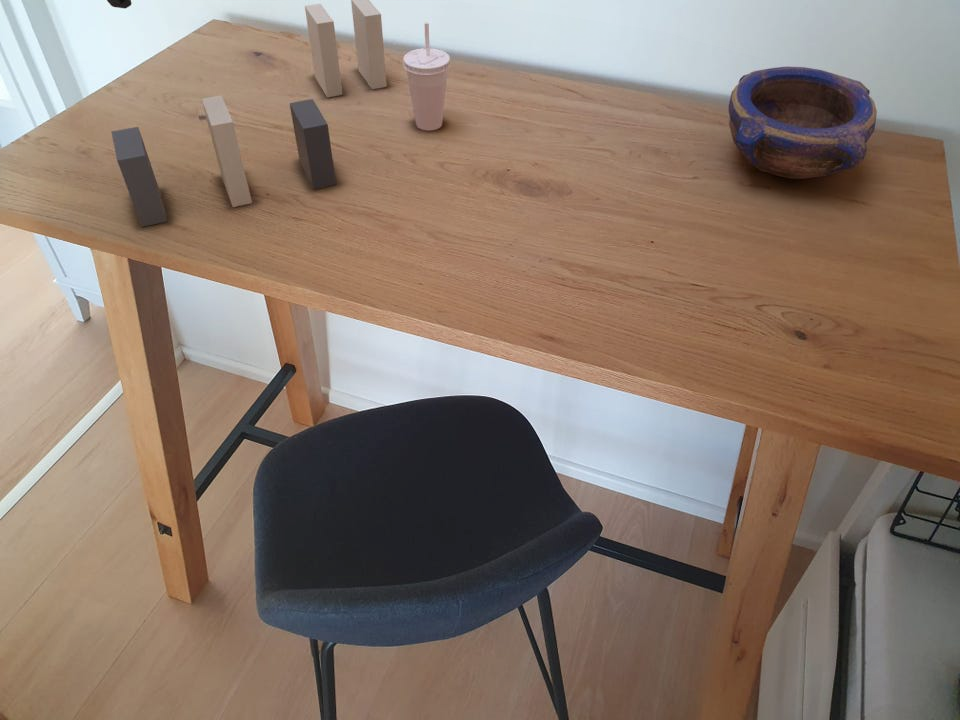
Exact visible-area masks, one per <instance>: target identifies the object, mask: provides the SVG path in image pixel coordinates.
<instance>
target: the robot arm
mask: <svg viewBox="0 0 960 720" xmlns="http://www.w3.org/2000/svg"><path fill="white" fill-rule="evenodd" d="M106 1H107V3H108V4H109V5H110V6H111V7H113V8H119V9H127V8H129V7H131V6H132V0H106Z"/></svg>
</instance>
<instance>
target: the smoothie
mask: <svg viewBox="0 0 960 720" xmlns="http://www.w3.org/2000/svg"><path fill="white" fill-rule="evenodd" d="M424 45H425V46H424V47H425V48H422V47H421V48H417V49H412V50H410V51H408V52H407V53H405V55H403V59H402V60H403V61H402V62H403V64H402V67H403V68H404V69H405V71H406V76H407V81H408V88H409V92H410V98H411V104H412V108H413V114H414V120H415V125H416V127H417V128H418V129H420V130H421V131H427V132H428V131H436V130H438V129H440V128H441V127H442V126H443V118H444V109H445V99H446V91H447V82H448V81H447V80H448V71H449V69H450V68H451V57H450V55H449V54H448V53H447V52H445V51H444V50H441V49H437V48H430V25H429V22H424Z"/></svg>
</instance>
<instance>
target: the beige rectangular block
mask: <svg viewBox="0 0 960 720" xmlns="http://www.w3.org/2000/svg"><path fill="white" fill-rule="evenodd" d="M201 103H202V107H203V111H204V114H205V118H206V122H207V126H208V130H209V133H210V136H211V141H212V144H213V149H214V152H215V156H216V160H217V164H218V168H219V171H220V176H221V179H222V182H223V185H224V186H225V190H226V193H227V195H228V198H229V201H230V204H231V206H232V208H236V207H241V206H245V205H250V204H253V201H252V197H251V192H250V188H249V185H248V184H249V183H248V179H247V176H246V171H245V166H244V163H243V162H244V161H243V159H242V154H241V150H240V145H239V141H238V138H237V134H236V129H235V124H234V121H233V119H232V116H231V114H230V111H229V109H228V107H227V104H226V102H225V100H224V97H223V95H215V96H210V97H203V98H201Z"/></svg>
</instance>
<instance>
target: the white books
mask: <svg viewBox="0 0 960 720" xmlns="http://www.w3.org/2000/svg"><path fill="white" fill-rule="evenodd" d="M350 2H351V13H352V24H353V32H354V41H355V50H356V59H357V70H358V72H359V74H360V75H361V77H362V78H363V79H364V81H365V82H366V83H367V85H368V86H369V87H370V89H371V90H377V89H382V88H387V86H388V85H387V72H386V60H385V49H384V46H385V45H384V36H383V21H382V13H381V12H380V11H379V10H378V9H377V8H376V6H375V5H374V4H373V3H372V1H371V0H350ZM304 11H305V17H306V25H307V30H308V39H309V45H310V51H311V58H312V65H313V72H314V78H315V80H316V82H317V83H318V85H319V87H320V88H321V90H322V91H323V93H324V95H325V96H326V97H327V98H333V97H339V96H343V87H342V79H341V71H340V62H339V61H340V60H339V55H338V54H339V53H338V45H337V37H336V30H335V22H334V20H333V18H332V17H331V16H330V15H329V13H328V12H327V10H326V9H325V8H324V6H323V5H322V4H321V3H314V4H308V5H304Z"/></svg>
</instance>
